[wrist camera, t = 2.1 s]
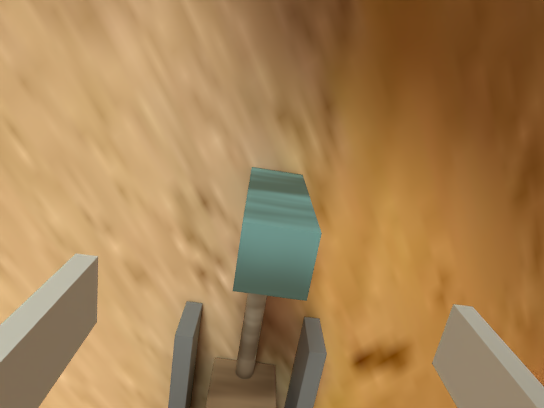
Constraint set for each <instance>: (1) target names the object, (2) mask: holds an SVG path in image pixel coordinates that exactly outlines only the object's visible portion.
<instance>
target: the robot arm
mask: <svg viewBox="0 0 544 408" xmlns="http://www.w3.org/2000/svg"><path fill="white" fill-rule="evenodd" d="M97 286H98V256H91V255H84V254H75V255H74V256H73V257H72V258H71V259H70V260H68V261H67V262H66V263H65V264H64V265H63V266H62V267H61V268H60V269H59V270H58V271H57V272H56V273H55V274H54V275H53V276H52V277H50V278H49V279H48V280H47V281H46V282H45V283H44V284H43V285H42V286H41V287H40V288H39V289H38V290H37V291H36V292H35V293H34V294H32V295H31V296H30V297H29V298H28V299H27V300H26V301H25V302H24V303H23V304H22V305H21V306H20V307H19V308H18V309H17V310H16V311H14V312H13V313H12V314H11V315H10V316H9V317H8V318H7V319H6V320H5V321H4V322H3V323H2V324H1V325H0V408H38V407H39V406H40V404H41V403H42V401H43V400H44V399H45V397H46V396H47V394H48V393H49V391H50V390H51V388H52V387H53V385H54V384H55V382H56V381H57V380H58V378H59V377H60V375H61V374H62V372H63V371H64V369H65V368H66V366H67V365H68V363H69V362H70V361H71V359H72V358H73V356H74V355H75V353H76V352H77V350H78V349H79V347H80V346H81V344H82V343H83V341H84V340H85V339H86V337H87V336H88V334H89V333H90V331H91V330H92V328H93V327H94V325H95V324H96V322H97ZM432 364H433V366H434V367H435V369H436V371H437V373H438V374H439V376H440V378H441V380H442V381H443V383H444V385H445V387H446V388H447V390H448V392H449V394H450V395H451V397H452V399H453V401H454V402H455V404H456V406H457V408H544V387H543V385H542V384H541V383H540V382H539V381H538V380H537V379H536V377H535V376H534V375H533V374H532V373H531V372H530V371H529V370H528V368H527V367H526V366H525V365H524V364H523V363H522V362H521V361H520V359H519V358H518V357H517V356H516V355H515V354H514V353H513V352H512V350H511V349H510V348H509V347H508V346H507V345H506V344H505V343H504V341H503V340H502V339H501V338H500V337H499V336H498V335H497V333H496V332H495V331H494V330H493V329H492V328H491V327H490V326H489V324H488V323H487V322H486V321H485V320H484V319H483V318H482V317H481V315H480V314H479V313H478V312H477V311H476V310H475V309H474V308H473V307H471V306H463V305H456V304H453V306H452V309H451V312H450V315H449V318H448V320H447V323H446V326H445V329H444V332H443V334H442V337H441V340H440V343H439V346H438V348H437V351H436V354H435V357H434V360H433V362H432Z"/></svg>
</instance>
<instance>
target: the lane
mask: <svg viewBox="0 0 544 408" xmlns="http://www.w3.org/2000/svg"><path fill="white" fill-rule="evenodd" d="M201 311H202V303H195V302H188V301H187V302H186V305H185V308H184V311H183V314H182V317H181V320H180V322H179V325H178V328H177V331H176V334H175V341H174V351H173V362H172V373H171V384H170V395H169V405H168V408H190V406H191V397H192V388H193V380H194V371H195V363H196V354H197V346H198V337H199V329H200V320H201ZM326 355H327V353H326V348H325V344H324V339H323V334H322V329H321V324H320V319H318V318H311V317H304V321H303V325H302V330H301V334H300V339H299V343H298V348H297V352H296V357H295V361H294V366H293V371H292V375H291V380H290V384H289V389H288V393H287V398H286V402H285V407H284V408H313V406H314V402H315V399H316V395H317V391H318V387H319V383H320V379H321V375H322V371H323V367H324V363H325V359H326Z"/></svg>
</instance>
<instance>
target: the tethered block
mask: <svg viewBox="0 0 544 408" xmlns="http://www.w3.org/2000/svg"><path fill="white" fill-rule="evenodd" d="M320 238H321V230H320V227H319V224H318V221H317V218H316V215H315V212H314V209H313V206H312V203H311V200H310V196H309V193H308V190H307V187H306V184H305V181H304V178H303V175H300V174H294V173H287V172H281V171H274V170H268V169H261V168H254V167H252V170H251V176H250V182H249V188H248V194H247V200H246V206H245V212H244V218H243V224H242V231H241V238H240V245H239V251H238V258H237V265H236V272H235V279H234V286H233V291H237V292H244V293H248V296H247V303H246V309H245V315H244V321H243V327H242V334H241V340H240V346H239V352H238V359H237V360H229V359H221V358H215V359H214V365H213V370H212V375H211V381H210V386H209V391H208V397H207V402H206V408H276V376H275V365H270V364H262V363H255V360H256V354H257V349H258V343H259V338H260V332H261V326H262V321H263V315H264V310H265V304H266V299H267V296H275V297H282V298H290V299H297V300H305V301H307V297H308V292H309V288H310V283H311V279H312V274H313V270H314V265H315V261H316V256H317V251H318V247H319V242H320Z"/></svg>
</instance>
